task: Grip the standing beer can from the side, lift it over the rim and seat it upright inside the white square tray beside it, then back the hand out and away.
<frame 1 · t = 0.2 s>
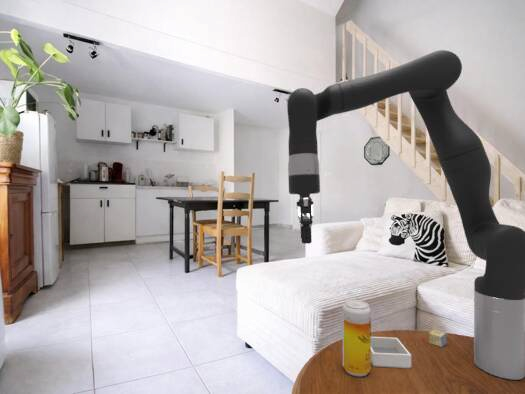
hand: (305, 241, 72), 29 cm above the table, tool pointing down, fingers open, 8 cm apart
beer can: (356, 370, 67), on the table
white square tray: (385, 357, 73), on the table
alphabet block: (437, 344, 80), on the table
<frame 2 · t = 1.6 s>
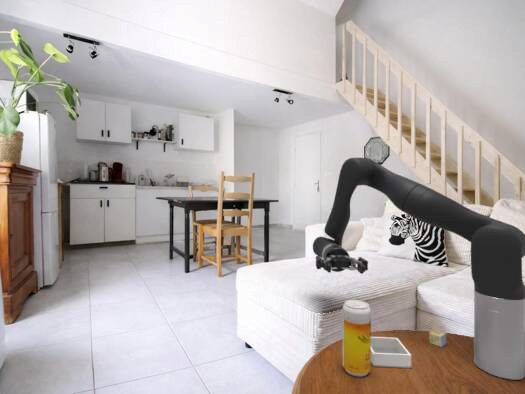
hand: (346, 269, 79), 20 cm above the table, tool horizontal, fingers open, 8 cm apart
nothing on the table moved.
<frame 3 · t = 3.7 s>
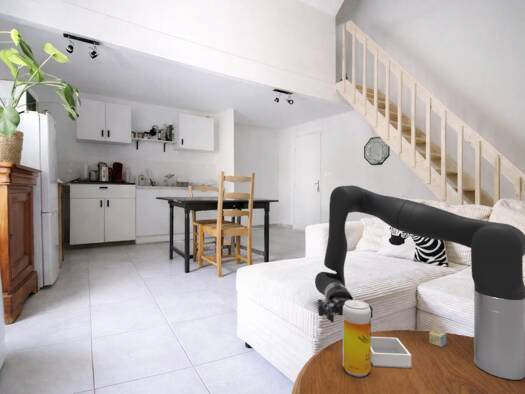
hand: (349, 319, 75), 8 cm above the table, tool horizontal, fingers open, 8 cm apart
nothing on the table moved.
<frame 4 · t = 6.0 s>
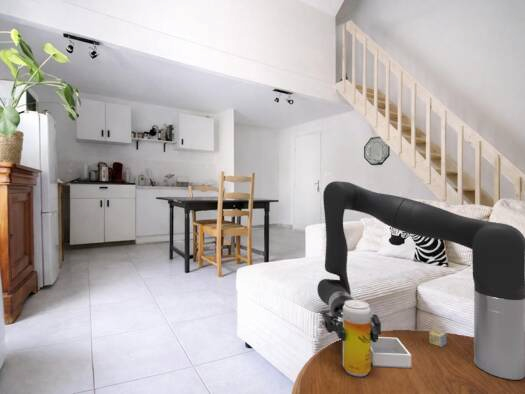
hand: (359, 337, 65), 9 cm above the table, tool horizontal, fingers closed on beer can, 6 cm apart
beer can: (356, 370, 67), on the table, touching gripper
everything else where it was.
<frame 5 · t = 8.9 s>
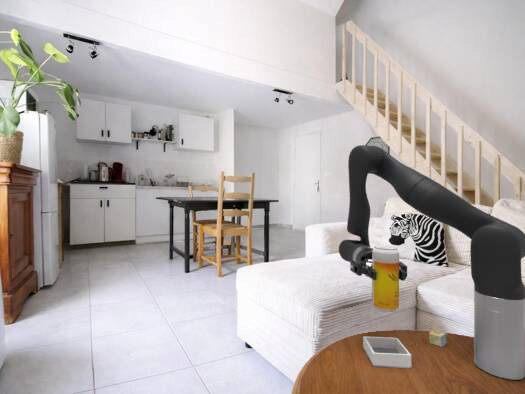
hand: (389, 276, 70), 21 cm above the table, tool horizontal, fingers closed on beer can, 6 cm apart
beer can: (385, 309, 72), point 12 cm above the table, touching gripper
everything else where it was.
when the fingers open (10 cm above the table, at t = 12.2 s): beer can stays where it is, resting on white square tray.
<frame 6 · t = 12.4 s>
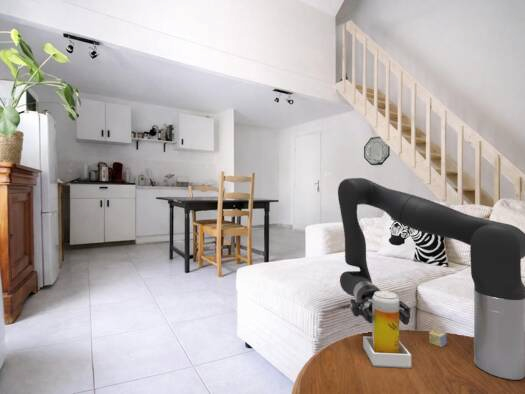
hand: (388, 320, 71), 10 cm above the table, tool horizontal, fingers open, 8 cm apart
beer can: (385, 356, 73), resting on white square tray
everything else where it was.
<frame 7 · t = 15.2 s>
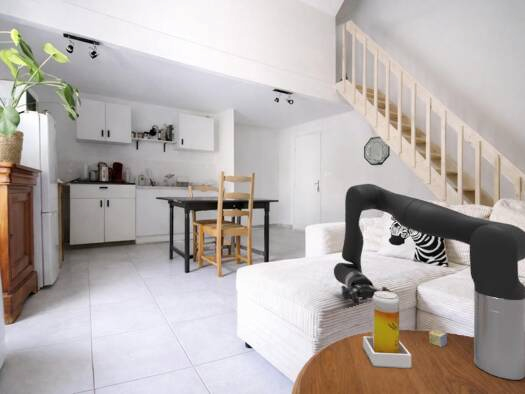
hand: (373, 301, 83), 10 cm above the table, tool horizontal, fingers open, 8 cm apart
nothing on the table moved.
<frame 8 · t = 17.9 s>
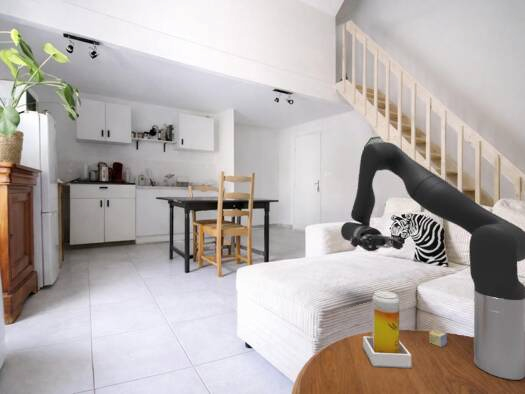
hand: (383, 245, 82), 26 cm above the table, tool horizontal, fingers open, 8 cm apart
nothing on the table moved.
at the end: beer can 0.2 cm off-centre on the white square tray, point 0.2 cm above the white square tray's base; beer can tilted 0°; the gripper is holding nothing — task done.
